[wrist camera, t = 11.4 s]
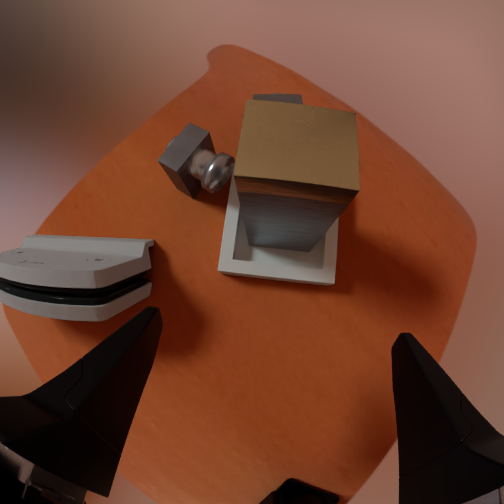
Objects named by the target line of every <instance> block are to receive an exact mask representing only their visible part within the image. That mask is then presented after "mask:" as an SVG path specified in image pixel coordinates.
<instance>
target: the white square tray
mask: <svg viewBox="0 0 504 504" xmlns="http://www.w3.org/2000/svg"><path fill="white" fill-rule="evenodd" d="M234 169H235V165H234ZM234 169H233V173H232V179H231V185H230V192H229V198H228V204H227V211H226V217H225V224H224V230H223V237H222V244H221V251H220V258H219V265H218V271H219V272H220V273H221V274H227V275H235V276H244V277H252V278H261V279H270V280H279V281H288V282H297V283H306V284H316V285H326V286H329V285H332V284H335V272H336V258H337V241H338V219H339V217H338V218H337V220H336V221H335V222H334V223H333V224H332V226H331V227H330V228H329V229H328V231H327V232H326V233H325V234H324V235H323V237H322V238H321V239H320V240H319V241H318V243H317V244H316V245H315V246H314V247H313V249H312V250H311V251H310V252H301V251H292V250H283V249H274V248H265V247H256V246H249V244H248V240H247V235H246V230H245V226H244V221H243V217H242V212H241V207H240V203H239V198H238V193H237V189H236V184H235V180H234Z"/></svg>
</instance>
